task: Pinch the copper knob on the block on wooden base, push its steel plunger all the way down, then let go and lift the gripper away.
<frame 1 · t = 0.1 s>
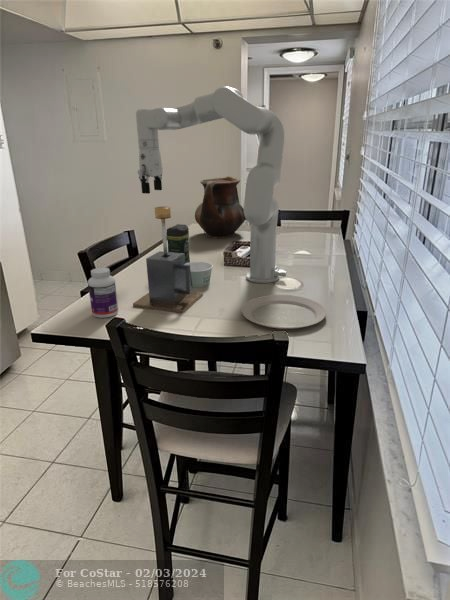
hand: (152, 191, 166), 31 cm above the table, tool pointing down, fingers open, 9 cm apart
plate: (283, 316, 130), on the table
food container: (197, 283, 159), on the table
pill bottle: (105, 314, 133), on the table
coffee jar: (179, 270, 174), on the table
block on wooden base: (168, 300, 143), on the table
jug: (220, 235, 233), on the table
plunger: (164, 240, 135), point 21 cm above the table, slide at 9.0 cm
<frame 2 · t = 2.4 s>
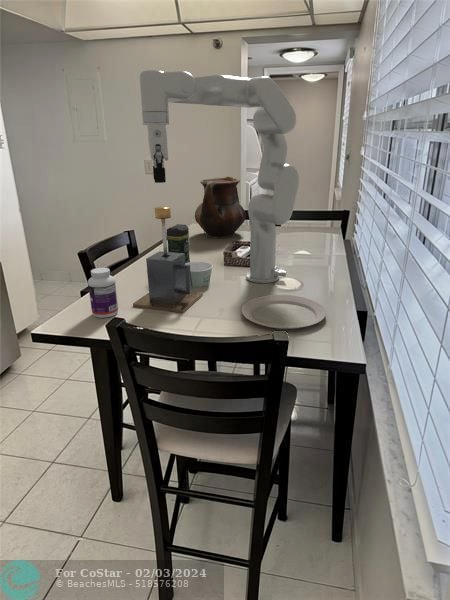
hand: (159, 180, 128), 39 cm above the table, tool pointing down, fingers open, 9 cm apart
nothing on the table moved.
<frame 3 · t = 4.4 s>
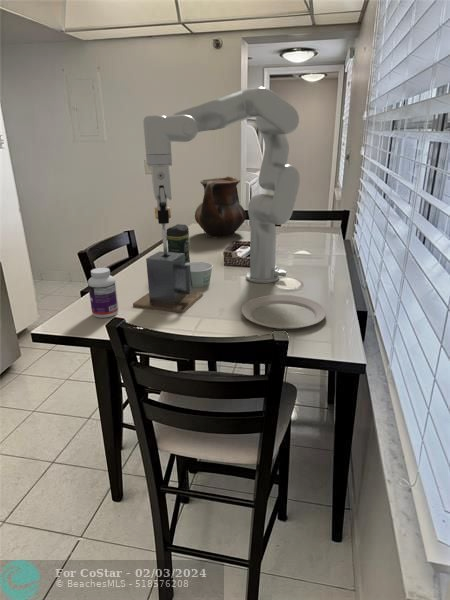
hand: (163, 221, 133), 27 cm above the table, tool pointing down, fingers closed on plunger, 4 cm apart
plunger: (164, 240, 135), point 21 cm above the table, slide at 9.0 cm, touching gripper
everything else where it was.
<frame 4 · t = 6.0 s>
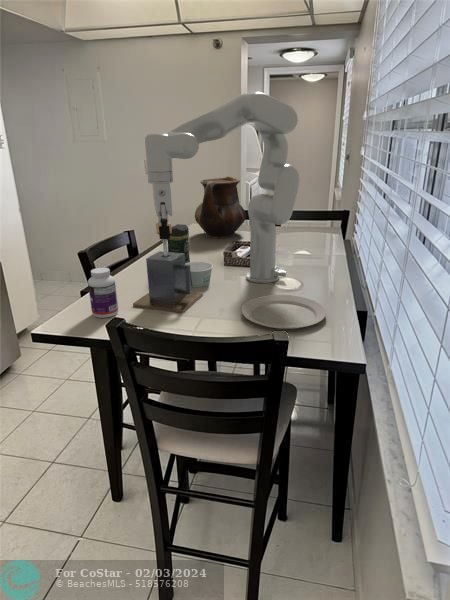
hand: (164, 236, 134), 22 cm above the table, tool pointing down, fingers closed on plunger, 4 cm apart
plunger: (165, 254, 137), point 16 cm above the table, slide at 4.1 cm, touching gripper
everything else where it was.
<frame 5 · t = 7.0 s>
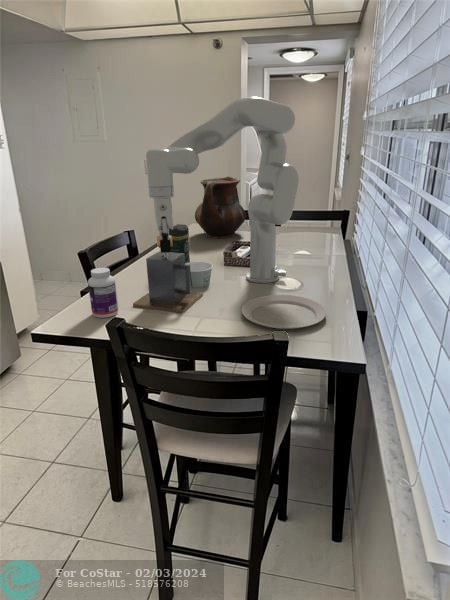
hand: (165, 249, 136), 18 cm above the table, tool pointing down, fingers closed on plunger, 4 cm apart
plunger: (166, 267, 138), point 12 cm above the table, slide at -0.1 cm, touching gripper
everything else where it was.
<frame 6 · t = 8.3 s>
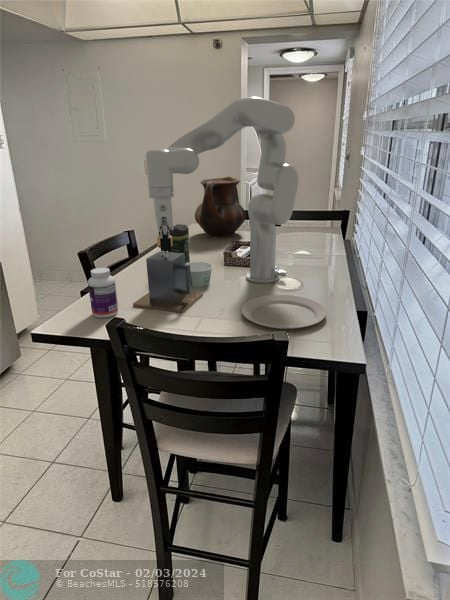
hand: (165, 246, 136), 19 cm above the table, tool pointing down, fingers open, 9 cm apart
plunger: (166, 267, 138), point 12 cm above the table, slide at -0.1 cm
everything else where it was.
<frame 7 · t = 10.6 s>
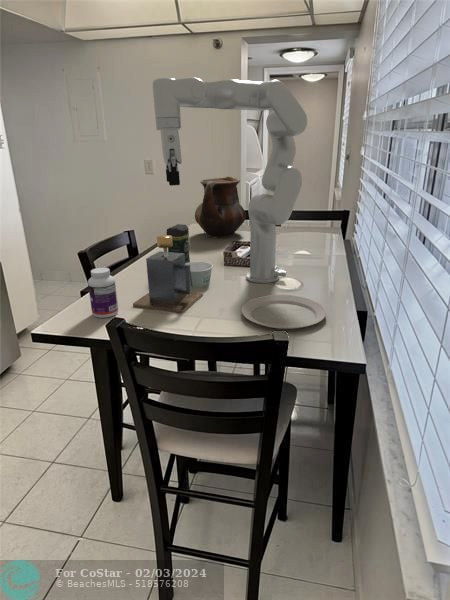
hand: (173, 183, 134), 38 cm above the table, tool pointing down, fingers open, 9 cm apart
nothing on the table moved.
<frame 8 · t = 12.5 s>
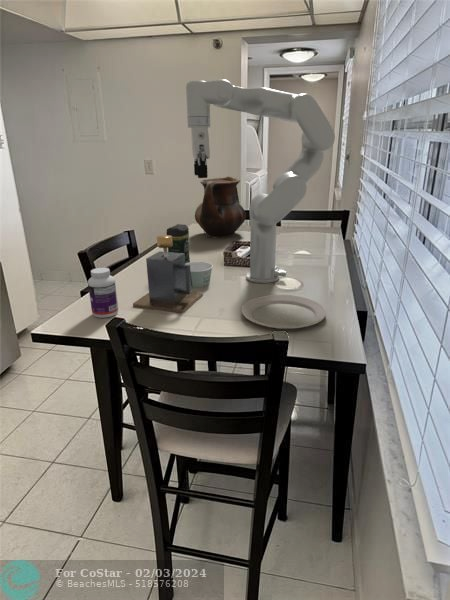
hand: (200, 176, 146), 38 cm above the table, tool pointing down, fingers open, 9 cm apart
nothing on the table moved.
at the end: plunger slide at -0.1 cm; the gripper is holding nothing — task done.
